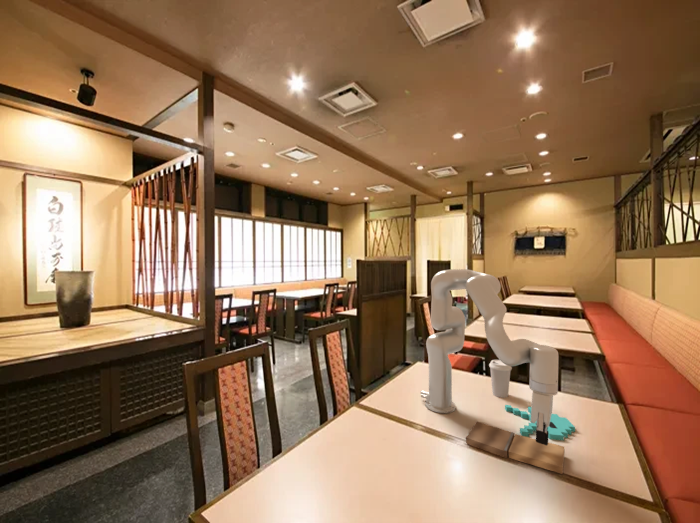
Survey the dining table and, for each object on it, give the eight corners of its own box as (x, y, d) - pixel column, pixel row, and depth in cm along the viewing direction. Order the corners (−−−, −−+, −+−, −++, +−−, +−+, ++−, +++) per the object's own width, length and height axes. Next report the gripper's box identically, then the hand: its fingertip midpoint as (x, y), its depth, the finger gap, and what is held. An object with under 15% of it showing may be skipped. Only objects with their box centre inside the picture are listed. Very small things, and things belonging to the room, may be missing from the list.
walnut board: (466, 443, 103) (466, 436, 103) (476, 426, 114) (476, 420, 114) (507, 458, 96) (507, 451, 96) (514, 439, 106) (514, 432, 106)
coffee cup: (486, 389, 146) (486, 358, 146) (508, 391, 144) (508, 359, 144) (492, 398, 137) (491, 365, 137) (514, 400, 135) (514, 366, 135)
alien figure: (522, 437, 108) (585, 444, 104) (522, 431, 108) (585, 437, 103) (504, 409, 127) (557, 414, 123) (504, 404, 127) (557, 409, 123)
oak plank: (508, 457, 96) (508, 451, 96) (515, 439, 105) (515, 434, 105) (562, 474, 87) (561, 467, 87) (564, 452, 97) (564, 446, 97)
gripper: (532, 375, 103) (531, 427, 104) (526, 390, 91) (524, 449, 92) (559, 380, 98) (557, 436, 99) (555, 397, 87) (554, 460, 87)
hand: (541, 442), depth 95 cm, fingers closed
